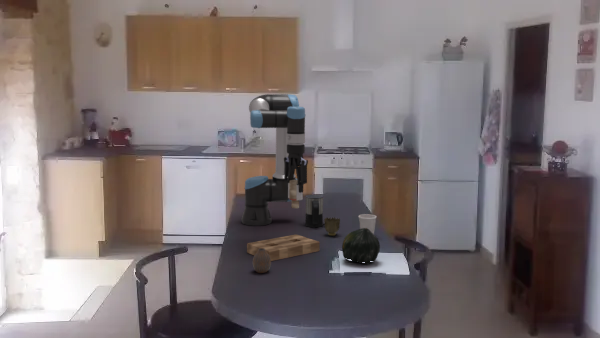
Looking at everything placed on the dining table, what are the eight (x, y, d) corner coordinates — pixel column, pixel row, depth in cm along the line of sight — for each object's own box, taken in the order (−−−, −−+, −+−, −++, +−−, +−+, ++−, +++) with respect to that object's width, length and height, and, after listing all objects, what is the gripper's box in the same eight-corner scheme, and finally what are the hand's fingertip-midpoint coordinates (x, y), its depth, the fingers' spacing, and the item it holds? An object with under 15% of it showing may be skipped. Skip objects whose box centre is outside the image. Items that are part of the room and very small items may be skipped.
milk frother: (301, 224, 315) (302, 195, 313) (330, 221, 321) (330, 193, 319) (313, 230, 302) (313, 200, 300) (342, 227, 308) (343, 198, 306)
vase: (252, 268, 239) (252, 246, 238) (270, 268, 240) (270, 246, 239) (252, 274, 233) (252, 251, 231) (271, 274, 233) (271, 251, 232)
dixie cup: (363, 234, 296) (364, 213, 294) (379, 236, 291) (379, 215, 289) (354, 237, 289) (355, 216, 287) (370, 240, 284) (371, 218, 283)
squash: (341, 241, 260) (343, 220, 248) (377, 243, 259) (381, 222, 248) (340, 271, 250) (343, 251, 239) (378, 273, 250) (382, 253, 239)
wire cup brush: (338, 237, 288) (339, 220, 287) (322, 237, 289) (323, 220, 288) (340, 234, 295) (341, 217, 294) (325, 233, 297) (325, 216, 296)
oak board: (247, 252, 262) (247, 243, 261) (296, 243, 278) (296, 234, 277) (269, 261, 250) (269, 251, 249) (319, 250, 266) (319, 241, 265)
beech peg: (286, 207, 265) (286, 180, 264) (296, 206, 268) (296, 179, 267) (294, 209, 261) (294, 182, 260) (303, 207, 264) (304, 180, 263)
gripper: (275, 142, 266) (275, 196, 269) (302, 146, 252) (301, 203, 255) (289, 141, 270) (289, 194, 274) (316, 145, 256) (315, 201, 260)
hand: (295, 198), depth 264 cm, fingers closed on beech peg, 5 cm apart
